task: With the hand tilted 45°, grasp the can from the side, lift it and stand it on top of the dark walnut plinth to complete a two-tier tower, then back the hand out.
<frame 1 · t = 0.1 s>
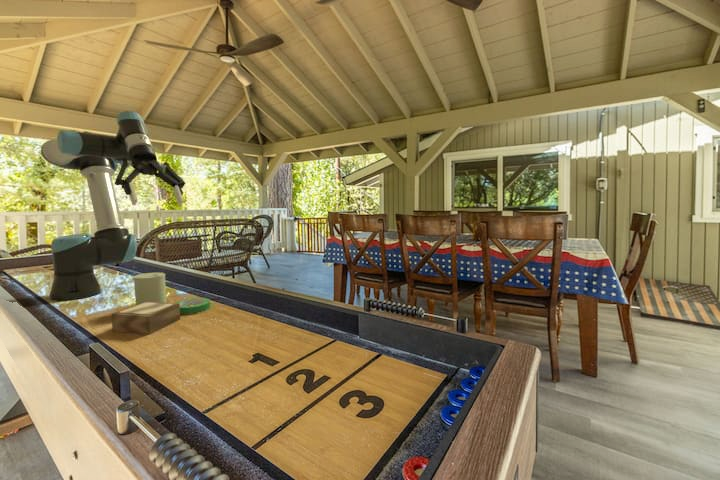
hand: (159, 203, 108), 36 cm above the table, tool tilted 35°, fingers open, 13 cm apart
tape roll: (192, 310, 115), on the table
can: (151, 308, 115), on the table
plinth: (148, 325, 100), on the table
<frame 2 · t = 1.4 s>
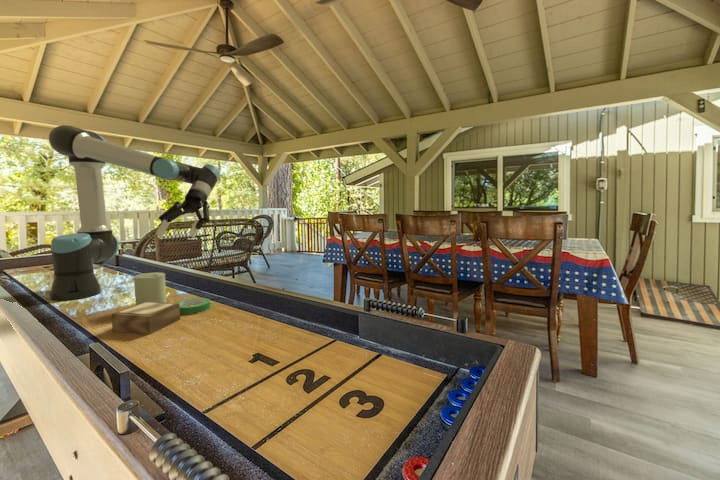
hand: (174, 235, 125), 24 cm above the table, tool tilted 45°, fingers open, 13 cm apart
nothing on the table moved.
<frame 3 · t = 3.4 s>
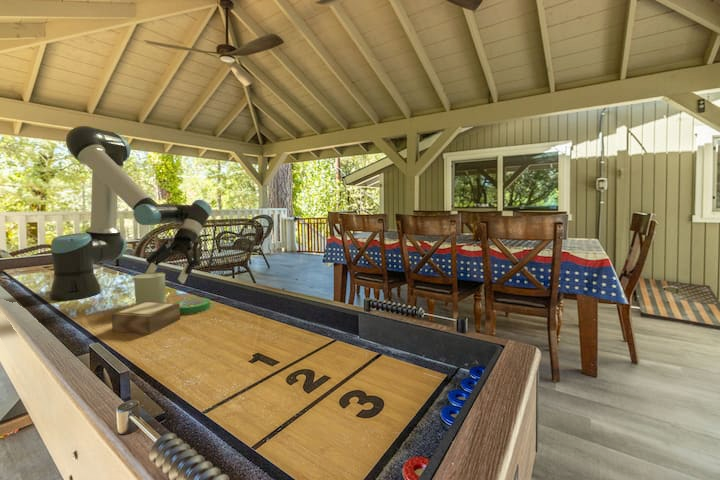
hand: (163, 280, 118), 9 cm above the table, tool tilted 45°, fingers open, 13 cm apart
nothing on the table moved.
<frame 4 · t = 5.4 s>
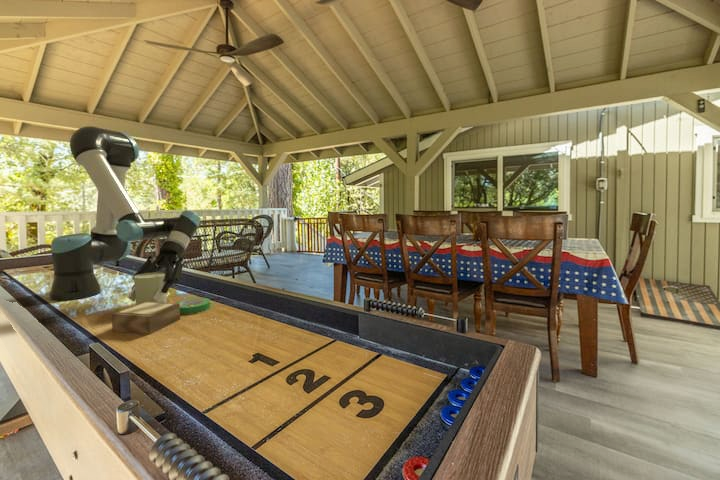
hand: (143, 300, 112), 4 cm above the table, tool tilted 45°, fingers closed on can, 9 cm apart
can: (151, 308, 115), on the table, touching gripper
everything else where it was.
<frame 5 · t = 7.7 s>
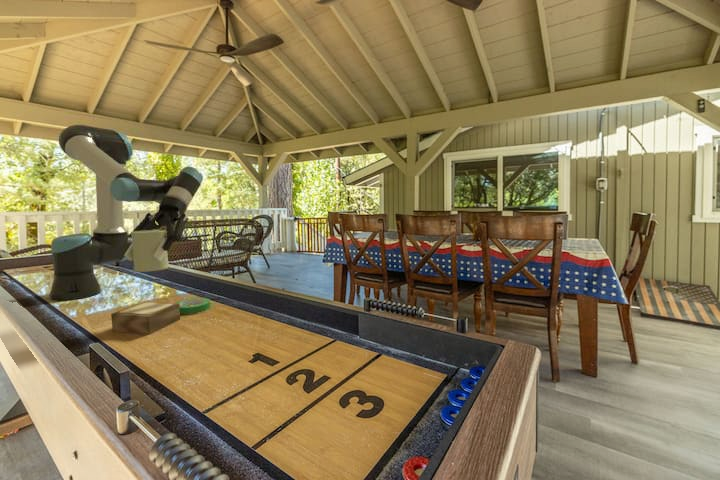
hand: (142, 258, 100), 20 cm above the table, tool tilted 45°, fingers closed on can, 9 cm apart
can: (151, 269, 104), point 16 cm above the table, touching gripper
everything else where it was.
when the fingers open (10 cm above the table, at t = 10.2 s): can drops 1 cm, resting on plinth.
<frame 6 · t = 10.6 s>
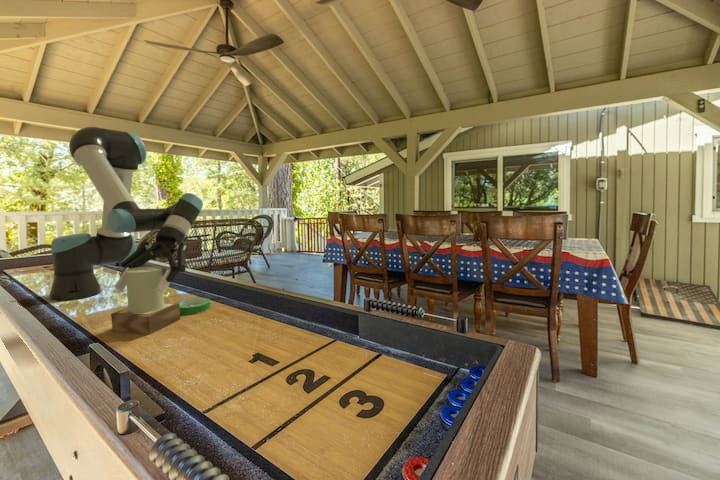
hand: (139, 290, 96), 11 cm above the table, tool tilted 45°, fingers open, 13 cm apart
can: (146, 308, 99), point 5 cm above the table, touching plinth
everything else where it was.
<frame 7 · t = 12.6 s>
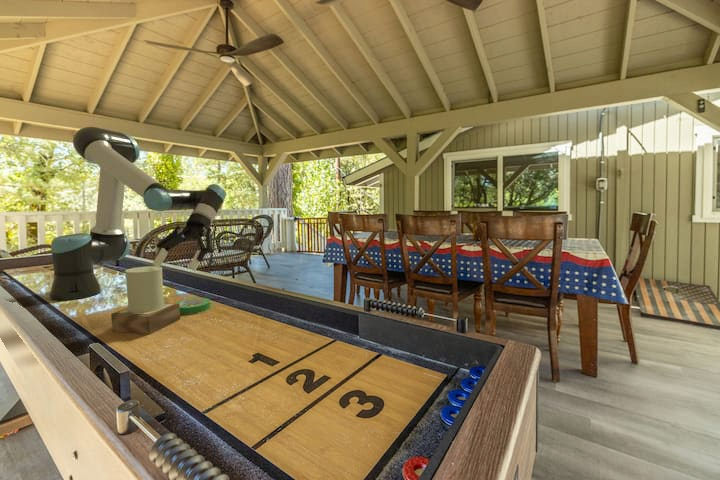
hand: (173, 267, 111), 15 cm above the table, tool tilted 45°, fingers open, 13 cm apart
nothing on the table moved.
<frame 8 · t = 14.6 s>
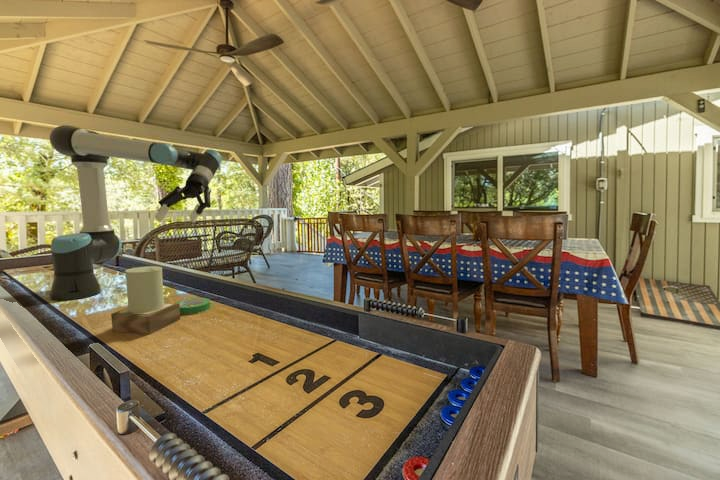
hand: (174, 219, 121), 30 cm above the table, tool tilted 45°, fingers open, 13 cm apart
nothing on the table moved.
at the end: can touching plinth; can tilted 0° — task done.
